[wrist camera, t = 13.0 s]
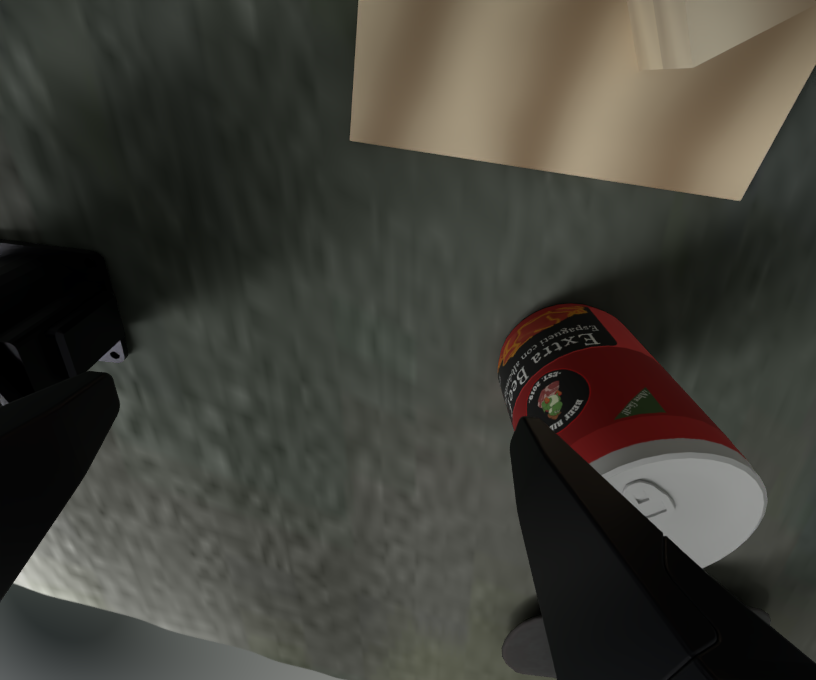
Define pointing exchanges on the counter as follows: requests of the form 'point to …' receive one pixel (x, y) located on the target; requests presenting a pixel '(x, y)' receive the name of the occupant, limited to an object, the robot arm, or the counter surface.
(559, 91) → the beige square cloth
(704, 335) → the counter surface
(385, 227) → the counter surface
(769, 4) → the slab top
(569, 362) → the canned food
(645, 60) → the slab bottom
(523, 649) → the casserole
